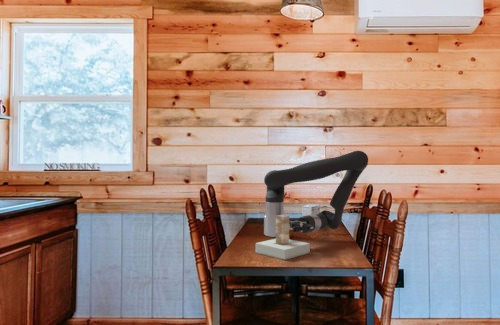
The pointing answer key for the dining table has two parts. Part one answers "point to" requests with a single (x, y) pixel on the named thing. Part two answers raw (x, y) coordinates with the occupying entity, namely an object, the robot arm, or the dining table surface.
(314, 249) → the dining table surface
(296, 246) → the socket block
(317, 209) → the light bulb box
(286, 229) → the peg
